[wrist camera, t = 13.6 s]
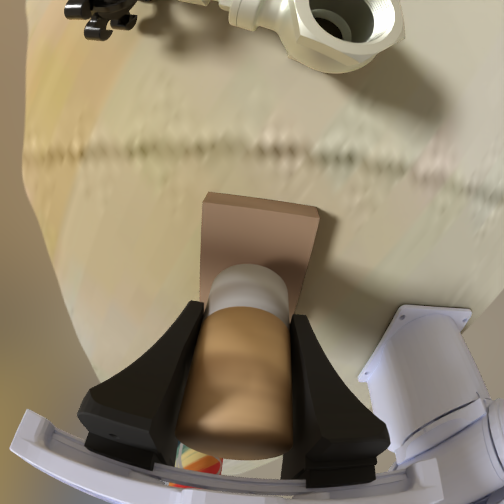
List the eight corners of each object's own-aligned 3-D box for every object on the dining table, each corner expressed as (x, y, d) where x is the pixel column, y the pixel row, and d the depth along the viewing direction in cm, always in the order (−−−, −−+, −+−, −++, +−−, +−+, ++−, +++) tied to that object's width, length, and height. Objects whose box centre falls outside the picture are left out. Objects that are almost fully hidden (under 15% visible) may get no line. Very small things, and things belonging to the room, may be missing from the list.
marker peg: (280, 326, 16) (279, 463, 9) (209, 317, 16) (179, 451, 9) (295, 269, 14) (307, 427, 7) (212, 258, 14) (168, 410, 7)
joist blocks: (289, 312, 20) (289, 328, 19) (203, 301, 20) (199, 316, 19) (357, -128, 3) (362, -138, 1) (261, -143, 3) (260, -154, 1)
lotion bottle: (204, 413, 30) (179, 570, 13) (235, 431, 32) (220, 571, 15) (173, 420, 32) (144, 557, 15) (203, 436, 34) (183, 563, 17)
